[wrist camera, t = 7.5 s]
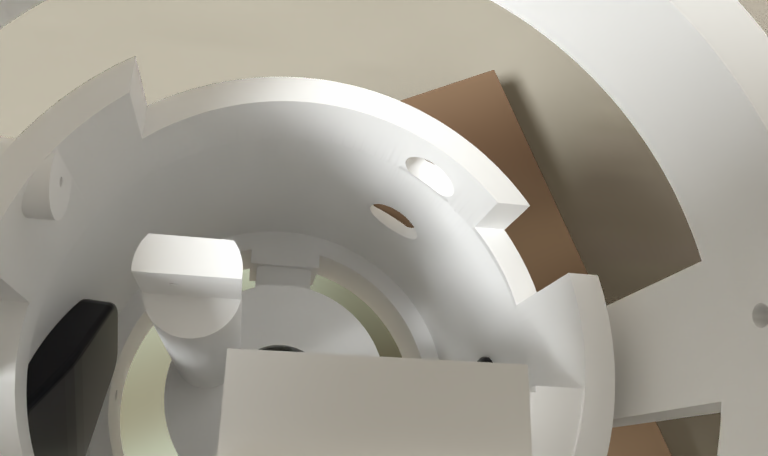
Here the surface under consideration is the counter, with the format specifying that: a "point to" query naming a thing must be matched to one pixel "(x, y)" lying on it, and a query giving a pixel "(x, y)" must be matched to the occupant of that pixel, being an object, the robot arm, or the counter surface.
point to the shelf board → (528, 232)
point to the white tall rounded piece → (393, 256)
